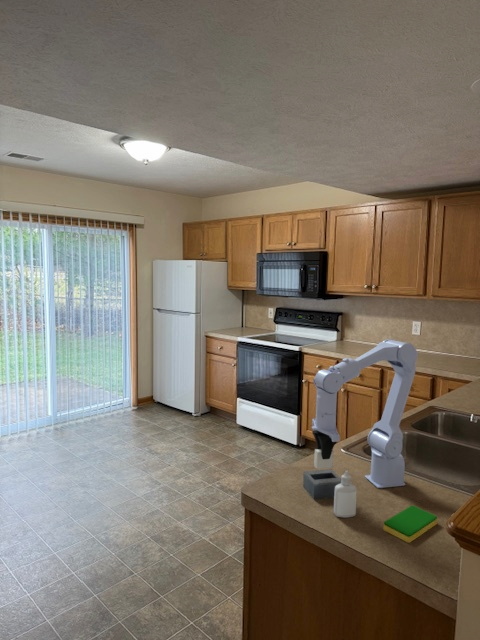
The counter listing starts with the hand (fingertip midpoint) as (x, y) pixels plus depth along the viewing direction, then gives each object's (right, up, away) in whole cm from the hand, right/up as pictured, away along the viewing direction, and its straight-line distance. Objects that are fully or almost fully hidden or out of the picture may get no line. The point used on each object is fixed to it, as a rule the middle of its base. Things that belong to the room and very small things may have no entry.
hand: (324, 456), depth 129 cm
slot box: (0, -10, +1) cm, 10 cm away
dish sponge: (+19, -13, -16) cm, 28 cm away
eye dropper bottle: (+3, -12, -12) cm, 17 cm away
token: (0, -3, 0) cm, 3 cm away
